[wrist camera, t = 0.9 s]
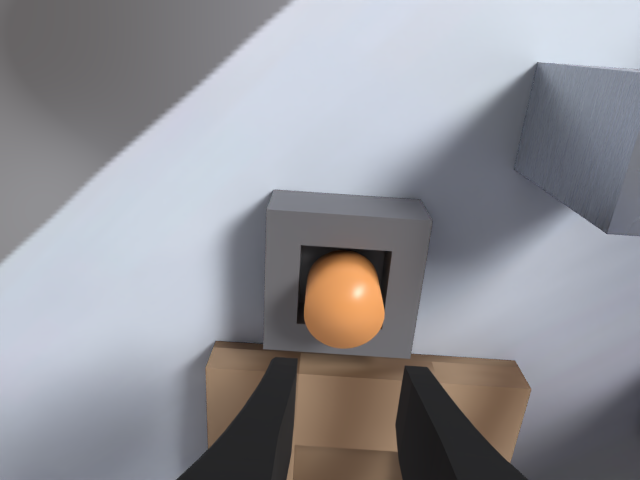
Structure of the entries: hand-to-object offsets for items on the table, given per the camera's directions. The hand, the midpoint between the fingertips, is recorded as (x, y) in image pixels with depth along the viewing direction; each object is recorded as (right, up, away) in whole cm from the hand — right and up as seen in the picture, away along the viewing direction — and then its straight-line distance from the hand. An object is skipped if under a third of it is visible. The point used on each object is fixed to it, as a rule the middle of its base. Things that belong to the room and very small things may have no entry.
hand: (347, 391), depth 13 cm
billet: (+9, +9, +5) cm, 14 cm away
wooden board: (+1, -8, +12) cm, 14 cm away
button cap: (0, +2, +6) cm, 6 cm away
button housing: (0, +3, +8) cm, 8 cm away
